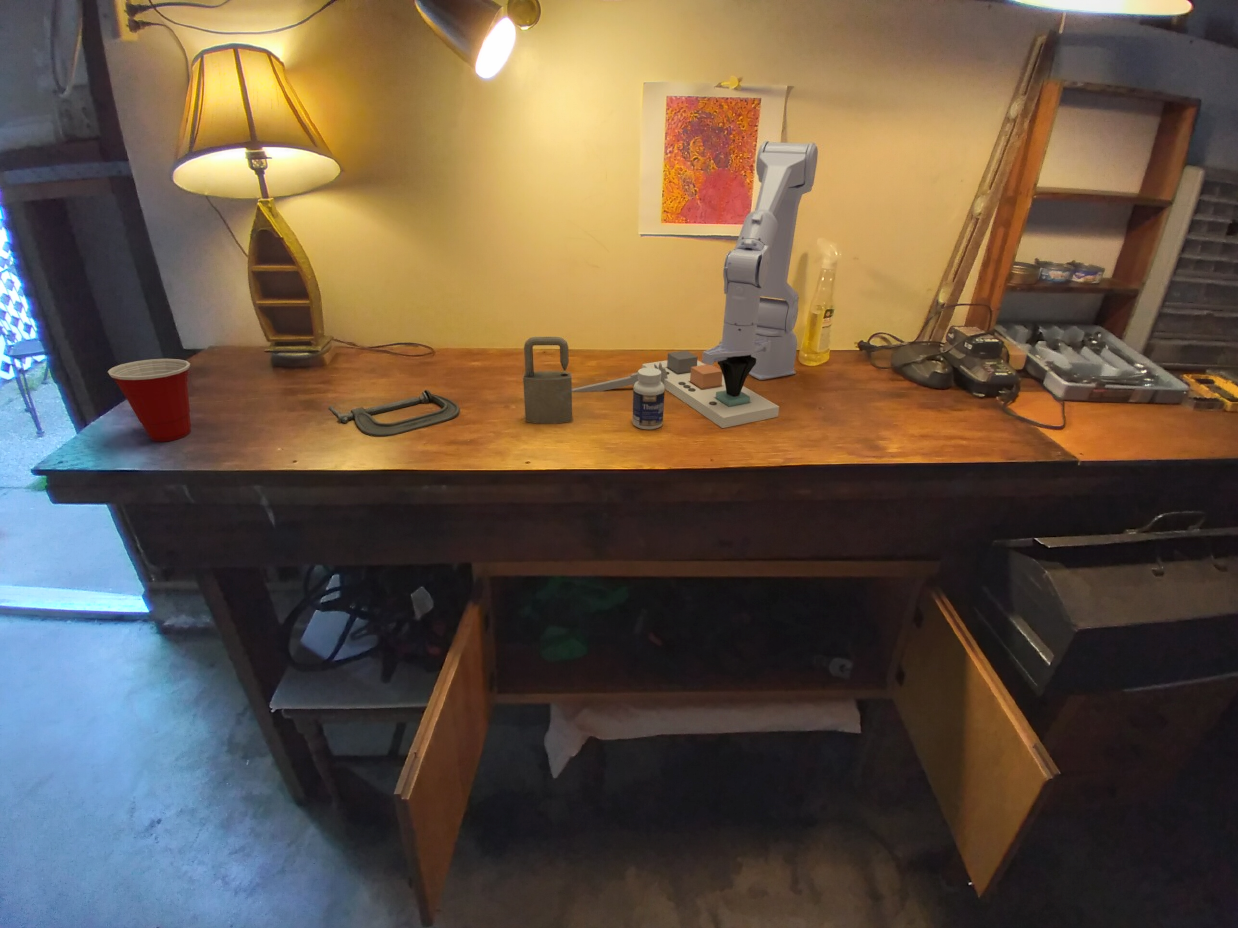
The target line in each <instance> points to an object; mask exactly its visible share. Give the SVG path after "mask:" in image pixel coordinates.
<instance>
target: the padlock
mask: <svg viewBox="0 0 1238 928" xmlns="http://www.w3.org/2000/svg"><path fill="white" fill-rule="evenodd" d="M534 346H558V347H559V357H560V358H559V361H560V365H561V368H562V370H563V371H560V370H553V371H552V370H543V371H541V370H538V371H537V370H536V371H535V369H534V368H535V367H534V351H533V348H534ZM523 352H524V353H523V354H524V371H525V372H523V376H522V383H523V396H524V397H523V398H524V419H525V422H526V423H531V424H532V423H534V424H563V423H568V422H570V423H571V422H573V394H572V393H573V392H572V389H573V387H572V385H573V384H572V382H573V381H572V379H573V378H572V372H570V371H568V372H567V368H568V365H569V363H570V361H569V360H570V359H569V357H570V356H569V345H568V341H567V340H566V339H564V338H563V337H560V336H533V337H529V338H528V339H527V340H526V341H525V342H524V346H523Z"/></svg>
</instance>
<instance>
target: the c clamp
mask: <svg viewBox="0 0 1238 928" xmlns="http://www.w3.org/2000/svg"><path fill="white" fill-rule="evenodd" d="M420 403H421V404H430V403H434V404H437V405H438V406H440V408H441V409H439V410H435V411H432V412H429V413H425V414H421V415H418V416H414V417H410V418H406V419H402V420H398V421H395V422H387V423H385V422H380V421H377V420H376V419H375V418H374V417H373V416H375V415H377V414H382V413H386V412H390V411H394V410H398V409H402V408H403V409H404V408H407V407H412V406H416V405H418V404H420ZM328 410H329V411H330V412H332V413H333V414H334V415H335V416H336V417H337V420H338V422H339V423H340V424H341V423H345V424H346V423H348V422H349V421H353V420H354V422H355V424H356V426H357V428H358V429H359V430H360V431H361V432H362V433H363V434H364V435H366V436H370V437H377V438H381V437H382V438H384V437H392V436H396V435H401V434H404V433H409V432H412V431H416V430H420V429H423V428H426V427H430V426H434V425H438V424H442V423H446V422H449V421H452V420H454V419H455V418H457V417H458V415H459V414H460V411H461V408H460V406H459V404H457V403H456V402H455V401H453V400H451V399H449V398H447V397H445V396H441V395H438V394H433V393H431V391H430V390H429V389H425V390H424V391H422V392H421V395H420V396H414V397H411V398H406V399H401V400H398V401H393V402H389V403H384V404H380V405H376V406H375V405H374V406H373V407H368V408H364V407H356V408H351V410H350V412H346V413H340V412H339V411H338V410H336V409H335V407H334V406H328Z"/></svg>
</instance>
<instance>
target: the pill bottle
mask: <svg viewBox="0 0 1238 928" xmlns="http://www.w3.org/2000/svg"><path fill="white" fill-rule="evenodd" d="M637 372H638V380H639V381H637V382H636V383H635V384H634V387H632V388H633V389H632V391H633V392H632V424H633V425H634V426H635V427H636V428H638V429H641V430H655V429H658V428H660V427H662V426H663V424H664V410H665V408H664V407H665V394H666V389H665V386H664V384H663V383H662V382H660V381H661V371H660V370H659V369H656V368H642V367H641V368H640V369H638V370H637Z"/></svg>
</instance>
